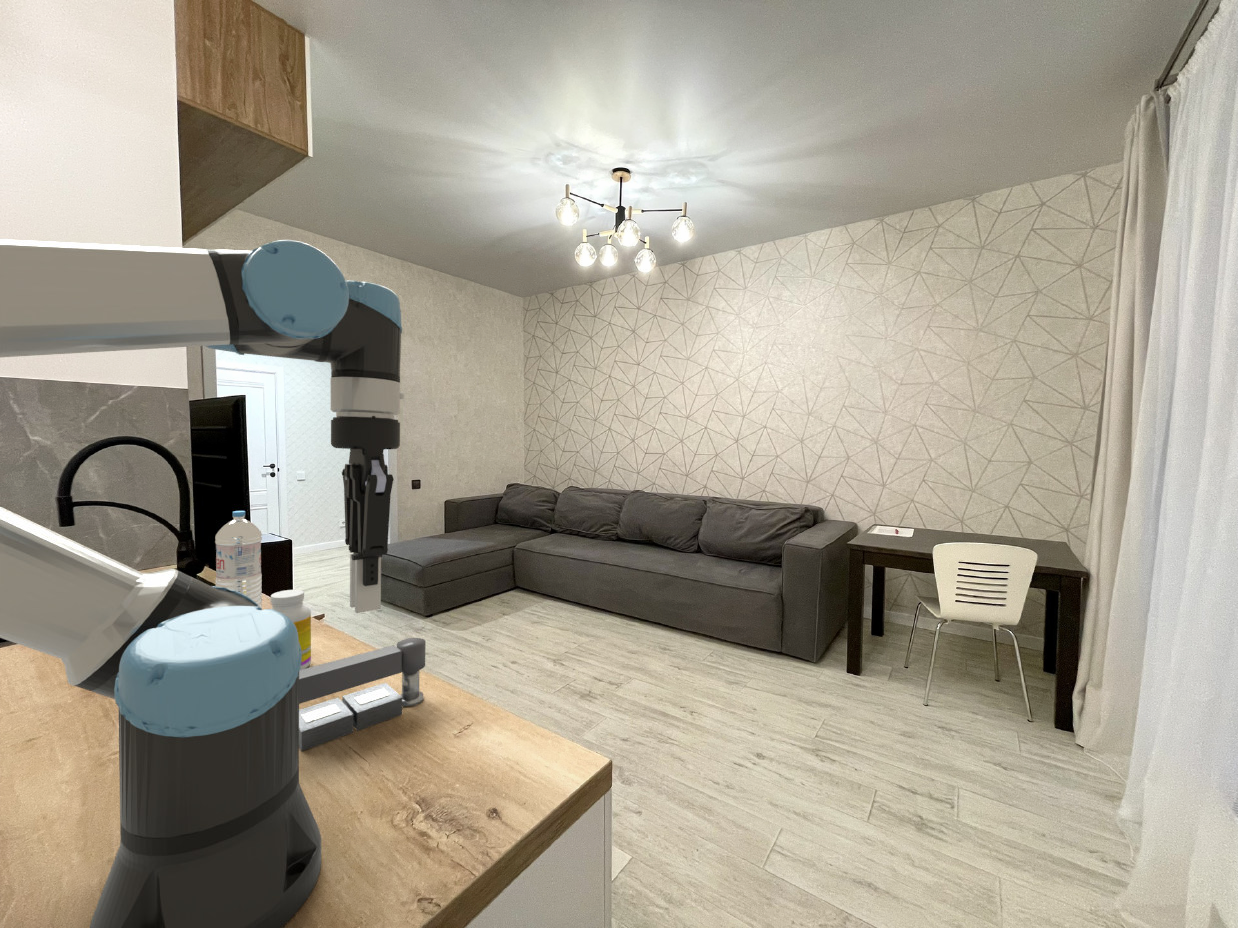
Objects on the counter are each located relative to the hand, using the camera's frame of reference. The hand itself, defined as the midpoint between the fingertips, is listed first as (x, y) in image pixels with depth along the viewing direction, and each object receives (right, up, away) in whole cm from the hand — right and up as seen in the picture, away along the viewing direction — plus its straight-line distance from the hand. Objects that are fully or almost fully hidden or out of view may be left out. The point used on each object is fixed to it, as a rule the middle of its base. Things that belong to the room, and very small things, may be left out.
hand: (365, 607), depth 62 cm
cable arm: (-4, -13, +9) cm, 16 cm away
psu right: (-4, -18, +10) cm, 21 cm away
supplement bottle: (-25, -17, +23) cm, 37 cm away
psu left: (-8, -18, +5) cm, 20 cm away
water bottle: (-39, -16, +32) cm, 53 cm away
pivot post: (0, -18, +14) cm, 22 cm away
